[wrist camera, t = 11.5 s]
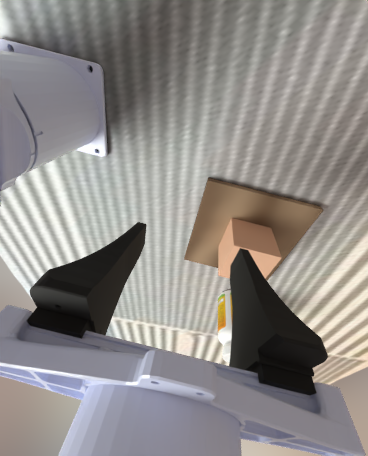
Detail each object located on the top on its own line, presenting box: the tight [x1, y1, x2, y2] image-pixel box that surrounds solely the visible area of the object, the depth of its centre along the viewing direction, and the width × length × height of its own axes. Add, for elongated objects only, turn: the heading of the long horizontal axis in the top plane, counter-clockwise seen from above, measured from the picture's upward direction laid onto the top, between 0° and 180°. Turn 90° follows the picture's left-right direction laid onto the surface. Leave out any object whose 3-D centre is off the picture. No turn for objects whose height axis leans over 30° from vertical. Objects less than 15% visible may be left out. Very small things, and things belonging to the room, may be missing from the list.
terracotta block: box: [218, 218, 282, 279], centre depth 23 cm, size 5×5×5 cm
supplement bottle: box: [218, 290, 232, 363], centre depth 30 cm, size 5×5×10 cm
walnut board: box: [184, 178, 323, 280], centre depth 25 cm, size 13×13×1 cm
